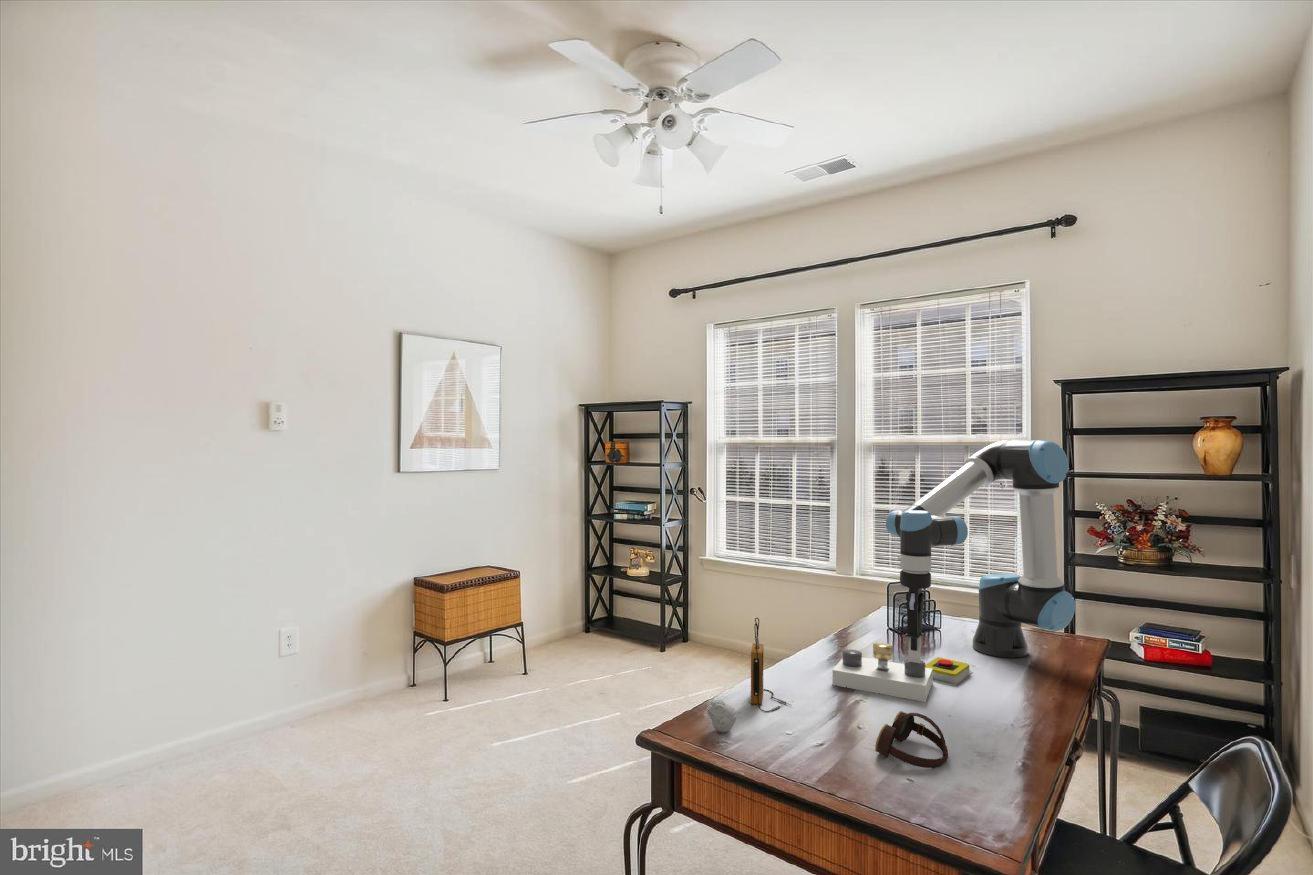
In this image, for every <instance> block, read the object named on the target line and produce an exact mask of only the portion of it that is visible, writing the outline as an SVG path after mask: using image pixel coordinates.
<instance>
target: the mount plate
mask: <svg viewBox="0 0 1313 875" xmlns="http://www.w3.org/2000/svg"><path fill="white" fill-rule="evenodd" d="M933 682H934V681H933V669H932V668H925V676H924V677H911V676H908V675H906V674H905V663H900V662H893V661H888V672H885V671H879V670H878V659H876V658H875V659H874V658H868V657H862V665H861V666H858V667H852V666H847V665H844V664H843V657H842V658H841V659H840V660H839V661H838V663H837V664H836V665H835V667H834V668H833V669H832V686H835V685H837V687H842V688H846V687H847V688H848V689H851V690H852V689H853V690H858V691H863V692H869V693H873V694H874V693H875V694H879V693H880V695H885V696H892V697H896V698H903V699H906V700H907V699H908V700H913V701H920V702H922V703H923V702H924V703H926V700H927V699H928V697H929V694H930V692H931V688H932V687H933Z"/></svg>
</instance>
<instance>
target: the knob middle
mask: <svg viewBox="0 0 1313 875" xmlns="http://www.w3.org/2000/svg"><path fill="white" fill-rule="evenodd" d="M893 656H894V646H893V644H890V643H887V642H874V643H873V644H872V657H873V659H874V658H875V660H878V670H879V671H885V672H888V662H889V661H890V660H893V659H894V657H893Z"/></svg>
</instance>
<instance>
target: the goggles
mask: <svg viewBox="0 0 1313 875" xmlns="http://www.w3.org/2000/svg"><path fill="white" fill-rule="evenodd" d="M915 717H918V718H920V719H923V721H924V720H925V722H927V723H929V724H930V725H931V726H932V727H933V728H934V729H935V731H936V733H935V732H934V731H932V729H929V728H927V727H926V725H925V724H923V723H922V722H921V723H917V722H915ZM912 731H913V732H915V733H916V734H917V735H919V736H920V737H922V736H923V737H925V738H926V739H928V740H930V741H931V742H932V743H934V744H935V745H936V747H938V748H939V750H940V751H941V753H942V757H938V758H926V757H925V758H924V757H920V756H916V755H913V754H909V753H907V752H905V751H903V750H901V749H898V748H897V747H895V746H894V741H895V740H896V741H897V742H899V743H903V742H905V741H906V740H907V739H908V738H909V737H910V735H911V733H912ZM947 747H948V746H947V744H946V738H945V737H944V734H943V731H941V729H940V727H939V725H937V723H935V721H934V720H932V719H931V718H929V717H928V716H926V715H924V714H921V713H919V712H908V713H907V712H904V711H902V710H900V711H898V713H897V714H896V716H895V717H894V720H893V722H892V725H889V724H888V723H885V724H884V725H883V726H882V727H881V729H880V731H879V733H878V735H877V737H876V740H875V745H874V749H875V750H874V751H875V752H876V753H879V754H880V755H881V756H882V757H884V758H885V759H886V760H887V759H888V757H889V756H892V757H893V758H894V759H897V760H899V761H901V762H902V763H905V764H908V765H912V766H914V767H917V768H918V767H919V768H923V769H935V768H939V767H942V766H943V765H944V764H945V763H946V762H947V761H948V758H949V750H948V748H947Z"/></svg>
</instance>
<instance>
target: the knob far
mask: <svg viewBox="0 0 1313 875" xmlns="http://www.w3.org/2000/svg"><path fill="white" fill-rule="evenodd" d="M842 658H843V664H844V665H847V666H852V667H858V666H861V665H862V658H863V653H862V652H861V651H860V650H857V649H844V650H842Z"/></svg>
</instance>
